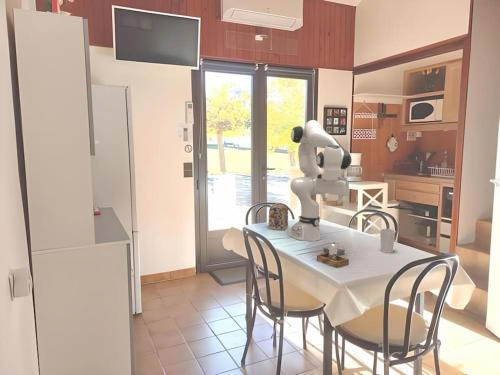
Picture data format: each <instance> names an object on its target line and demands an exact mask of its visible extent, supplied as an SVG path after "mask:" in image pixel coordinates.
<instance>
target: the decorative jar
mask: <svg viewBox="0 0 500 375" xmlns="http://www.w3.org/2000/svg"><path fill="white" fill-rule="evenodd" d="M288 227H289V208H288V205H285V204H283V203H282V202H275V204H272V205H270V207H269V209H268V230H272V231H273V230H274V231H275V230H276V231H286V230H287V229H288Z"/></svg>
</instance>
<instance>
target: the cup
mask: <svg viewBox="0 0 500 375" xmlns="http://www.w3.org/2000/svg"><path fill="white" fill-rule="evenodd" d="M379 231H380V252H381V253H385V254H392V253H393V252H394V244H395V237H396V232H397V231H396V230H395V229H390V228H381V229H380V230H379Z"/></svg>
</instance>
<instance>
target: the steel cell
mask: <svg viewBox="0 0 500 375" xmlns="http://www.w3.org/2000/svg"><path fill="white" fill-rule="evenodd" d="M328 247H329V259H331V260H334V261H337V248H338V243H336V242H335V241H332V242H329V243H328Z"/></svg>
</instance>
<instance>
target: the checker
mask: <svg viewBox="0 0 500 375" xmlns="http://www.w3.org/2000/svg"><path fill="white" fill-rule="evenodd" d="M322 250H323V251H322V252H323V254H324V253H329V246H327V247H323V249H322ZM345 254H346V250H345V249H344V248H342V247H337V255H338V256H344V255H345Z"/></svg>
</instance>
